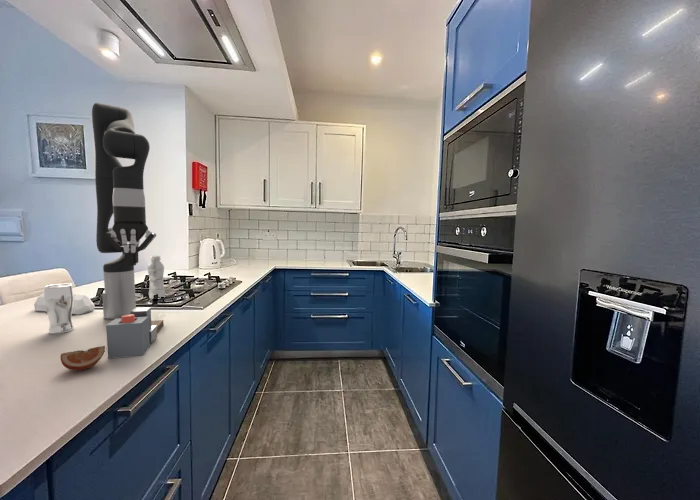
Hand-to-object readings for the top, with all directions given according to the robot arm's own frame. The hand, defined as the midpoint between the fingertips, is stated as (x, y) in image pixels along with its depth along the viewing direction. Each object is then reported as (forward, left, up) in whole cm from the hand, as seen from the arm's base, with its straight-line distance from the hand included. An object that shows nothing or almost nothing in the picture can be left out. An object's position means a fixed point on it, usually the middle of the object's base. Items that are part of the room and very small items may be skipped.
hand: (132, 265), depth 92 cm
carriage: (+2, 0, -23) cm, 23 cm away
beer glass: (-26, +18, -24) cm, 39 cm away
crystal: (-38, +44, -24) cm, 63 cm away
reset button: (+1, -7, -20) cm, 21 cm away
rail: (+2, +6, -23) cm, 24 cm away
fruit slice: (-6, -15, -24) cm, 29 cm away
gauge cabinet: (+1, -7, -23) cm, 24 cm away
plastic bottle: (-8, +56, -24) cm, 61 cm away
